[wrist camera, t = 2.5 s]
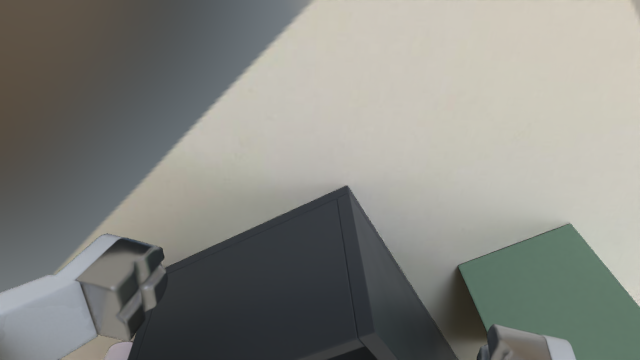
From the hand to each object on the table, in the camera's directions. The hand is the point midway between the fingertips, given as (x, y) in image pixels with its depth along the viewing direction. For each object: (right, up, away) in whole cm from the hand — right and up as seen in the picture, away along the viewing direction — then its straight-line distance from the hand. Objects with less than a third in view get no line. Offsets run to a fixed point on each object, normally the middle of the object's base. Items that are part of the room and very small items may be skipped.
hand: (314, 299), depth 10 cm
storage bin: (+1, -9, +23) cm, 24 cm away
